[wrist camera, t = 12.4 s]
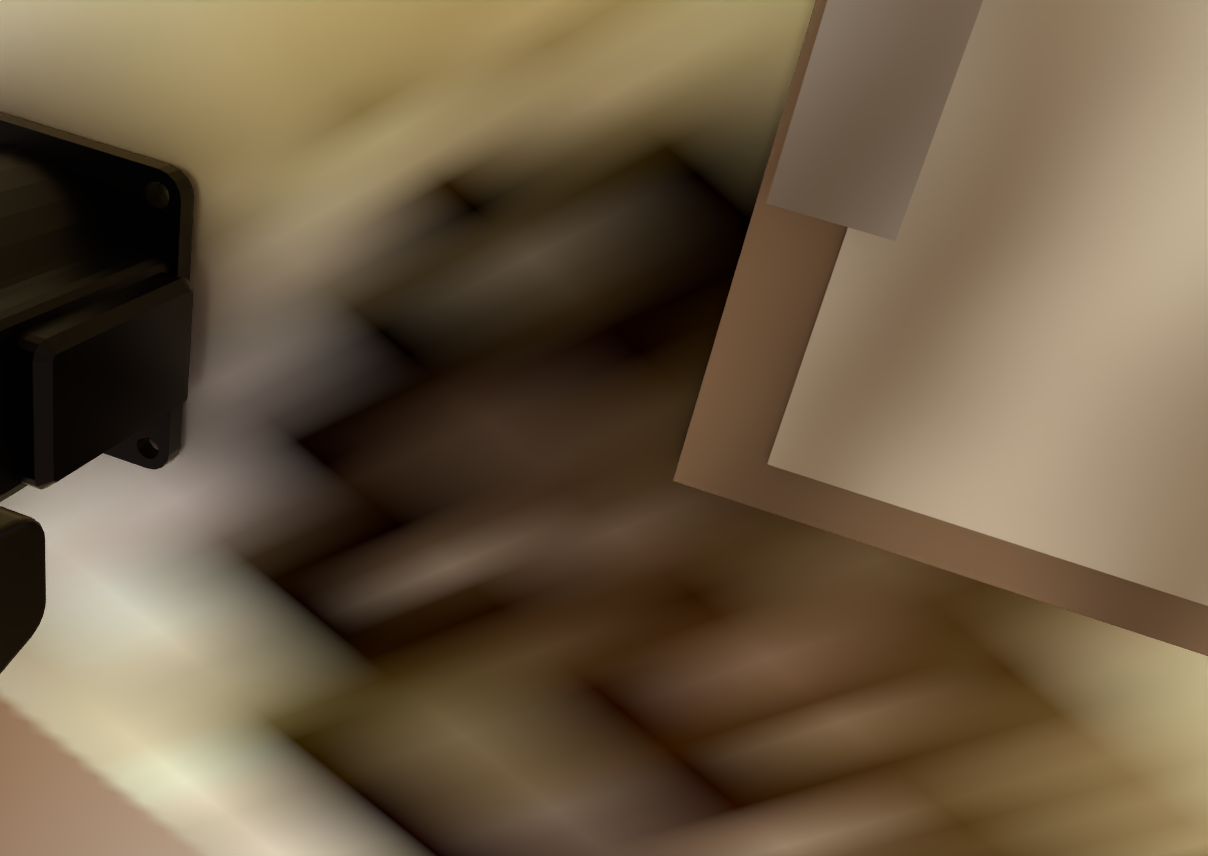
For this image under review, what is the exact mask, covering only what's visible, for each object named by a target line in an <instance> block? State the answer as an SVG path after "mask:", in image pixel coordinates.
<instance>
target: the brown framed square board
mask: <svg viewBox="0 0 1208 856" xmlns="http://www.w3.org/2000/svg"><path fill="white" fill-rule="evenodd" d="M673 481H675V482H678V483H681V484H684V485H687V486H690V487H693V488H696V489H699V490H702V491H706V492H709V493H712V494H715V495H718V496H721V497H724V498H727V499H730V500H733V501H736V502H739V503H742V504H745V505H748V506H751V507H754V508H757V509H761V510H764V511H767V512H770V513H773V514H776V515H779V516H782V517H785V518H788V519H791V520H794V521H797V522H800V523H803V524H806V525H809V526H812V527H815V528H819V529H822V530H825V531H828V532H831V533H834V534H837V535H840V536H843V537H846V538H849V539H852V540H855V541H858V542H861V543H864V544H867V545H870V546H873V547H877V548H880V549H883V550H886V551H889V552H892V553H895V554H898V555H901V556H904V557H907V558H910V559H913V560H916V561H919V562H922V563H925V564H928V565H931V566H935V567H938V568H941V569H944V570H947V571H950V572H953V573H956V574H959V575H962V576H965V577H968V578H971V579H974V580H977V581H980V582H983V583H986V584H990V585H993V586H996V587H999V588H1002V589H1005V590H1008V591H1011V592H1014V593H1017V594H1020V595H1023V596H1026V597H1029V598H1032V599H1035V600H1038V601H1041V602H1044V603H1048V604H1051V605H1054V606H1057V607H1060V608H1063V609H1066V610H1069V611H1072V612H1075V613H1078V614H1081V615H1084V616H1087V617H1090V618H1093V619H1096V620H1099V621H1102V622H1106V623H1109V624H1112V625H1115V626H1118V627H1121V628H1124V629H1127V630H1130V631H1133V632H1136V633H1139V634H1142V635H1145V636H1148V637H1151V638H1154V639H1157V640H1160V641H1164V642H1167V643H1170V644H1173V645H1176V646H1179V647H1182V648H1185V649H1188V650H1191V651H1194V652H1197V653H1200V654H1203V655H1206V656H1208V0H816V2H815V6H814V9H813V12H812V16H811V19H810V22H809V26H808V29H807V32H806V36H805V39H804V43H803V46H802V49H801V53H800V56H799V59H798V63H797V66H796V69H795V73H794V76H793V80H792V83H791V86H790V90H789V93H788V96H787V100H786V103H785V106H784V110H783V113H782V116H781V120H780V123H779V127H778V130H777V133H776V137H775V140H774V143H773V147H772V150H771V153H770V157H769V160H768V163H767V167H766V170H765V174H764V177H763V180H762V184H761V187H760V190H759V194H758V197H757V200H756V204H755V207H754V210H753V214H752V217H751V221H750V224H749V227H748V231H747V234H746V237H745V241H744V244H743V247H742V251H741V254H740V258H739V261H738V264H737V268H736V271H735V274H734V278H733V281H732V284H731V288H730V291H729V294H728V298H727V301H726V305H725V308H724V311H723V315H722V318H721V321H720V325H719V328H718V331H717V335H716V338H715V341H714V345H713V348H712V352H711V355H710V358H709V362H708V365H707V368H706V372H705V375H704V378H703V382H702V385H701V388H700V392H699V395H698V399H697V402H696V405H695V409H694V412H693V415H692V419H691V422H690V425H689V429H688V432H687V436H686V439H685V442H684V446H683V449H682V452H681V456H680V459H679V462H678V466H677V469H676V472H675V476H674V479H673Z"/></svg>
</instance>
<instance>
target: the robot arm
mask: <svg viewBox="0 0 1208 856" xmlns="http://www.w3.org/2000/svg"><path fill="white" fill-rule="evenodd" d="M159 182H160V183H161V184H163V185H164V186H165V187H166V189H167V190H168V193H169V198H170V199H169V202H166V201H164V200H163V199H162V197H161V196H160V194H159V190H158V185H159ZM193 202H194V196H193V188H192V186H191V184H190V181H189V179H188V177H187V176H186V175H185V174H184V173H183V172H182V171H181V170H180V169H178V168H176V167H174V166H172V165H170V164H167V163H163V162H160V161H157V160H154V159H151V158H147V157H144V156H141V155H138V154H134V153H131V152H128V151H125V150H121V149H118V148H115V147H112V146H108V145H105V144H102V143H99V142H95V141H92V140H89V139H86V138H82V137H79V136H76V135H73V134H69V133H66V132H63V131H60V130H56V129H53V128H50V127H47V126H43V125H40V124H37V123H34V122H30V121H27V120H24V119H21V118H17V117H14V116H11V115H8V114H4V113H1V112H0V502H1V501H3V500H4V499H6V498H8V497H9V496H11V495H13V494H14V493H16V492H18V491H19V490H21V489H23V488H24V487H26V486H27V485H30V486H33V487H36V488H38V489H44V488H48V487H49V486H51V485H53V484H54V483H56V482H57V481H59V480H61V479H62V478H64V477H65V476H67V475H69V474H70V473H72V472H73V471H75V470H77V469H78V468H80V467H81V466H83V465H85V464H86V463H88V462H89V461H91V460H93V459H94V458H96V457H97V456H99V455H101V454H102V453H105V454H108V455H111V456H113V457H116V458H119V459H122V460H125V461H128V462H131V463H134V464H136V465H139V466H142V467H145V468H149V469H158V468H162V467H163V466H165V465H166V464H168V463H169V462H171V461H172V460H174V459H175V457H176V456H177V455H178V454H179V451H180V445H181V427H182V408H183V403H184V402H185V401H186V399H187V394H188V376H189V358H190V340H191V322H192V304H193V292H192V289H191V286H190V283H189V277H190V258H191V239H192V221H193ZM149 438H150V439H152V440H154V442H155V443H156V445H157V446H158V450H157V449H155V448H154V447H153V446H152V445H151V443H150V441H149ZM45 604H46V575H45V535H44V531H43V529H42V527H41V525H40V523H39V522H37V521H36V520H35V519H33V518H31V517H28V516H26V515H23V514H20V513H17V512H15V511H12V510H9V509H6V508H4V507H1V506H0V674H1V672H2V671H3V670H4V669H5V668H6V666H7V665H8V664H9V663H10V662H11V661H12V659H13V658H14V657H15V656H16V655H17V653H18V652H19V651H20V650H21V649H22V647H23V646H24V645H25V644H26V643H27V642H28V640H29V639H30V638H31V637H32V635H33V634H34V632H35V631H36V629H37V627H38V626H39V624H40V622H41V619H42V617H43V614H44V610H45Z"/></svg>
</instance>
